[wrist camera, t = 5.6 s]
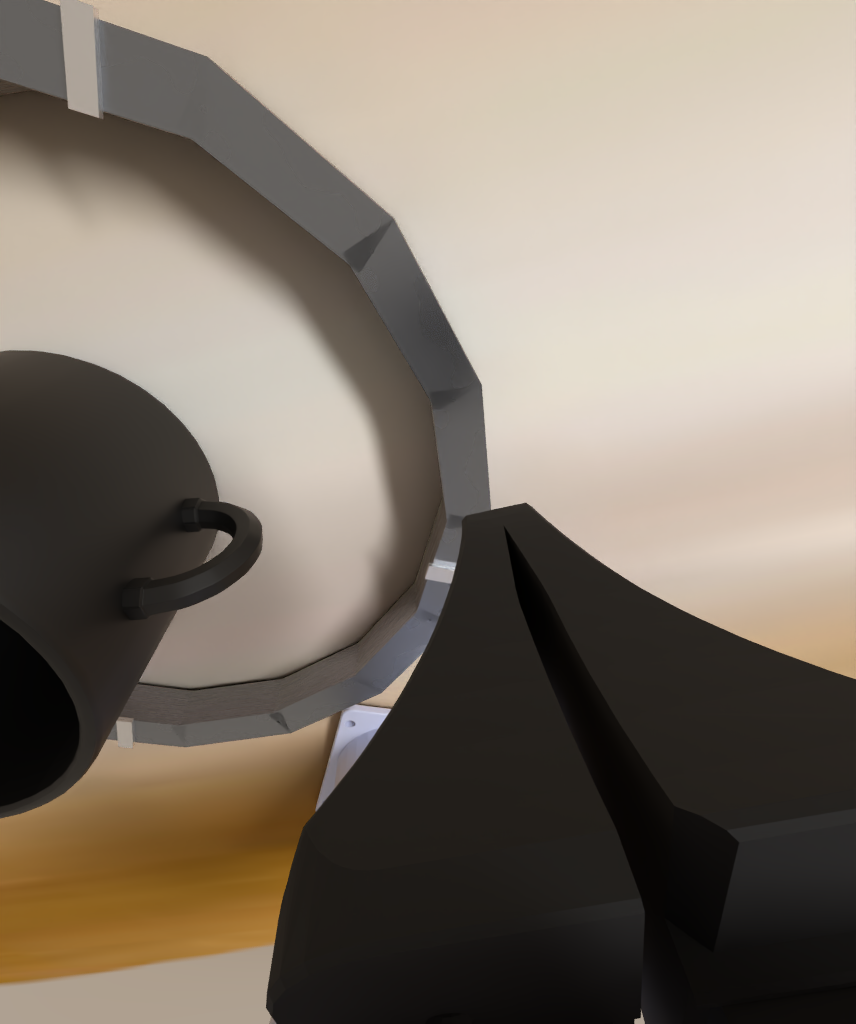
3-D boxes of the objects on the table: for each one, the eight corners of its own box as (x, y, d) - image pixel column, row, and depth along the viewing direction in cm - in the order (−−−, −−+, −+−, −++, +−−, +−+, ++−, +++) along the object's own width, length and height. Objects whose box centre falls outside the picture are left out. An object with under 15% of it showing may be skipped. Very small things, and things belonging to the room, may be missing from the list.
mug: (314, 573, 20) (264, 801, 12) (13, 596, 20) (-232, 844, 12) (261, 330, 15) (121, 455, 7) (-140, 357, 15) (-721, 514, 7)
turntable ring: (397, 737, 25) (397, 774, 24) (-160, 673, 21) (-209, 714, 19) (600, 195, 14) (630, 193, 12) (-583, -211, 9) (-806, -308, 7)
